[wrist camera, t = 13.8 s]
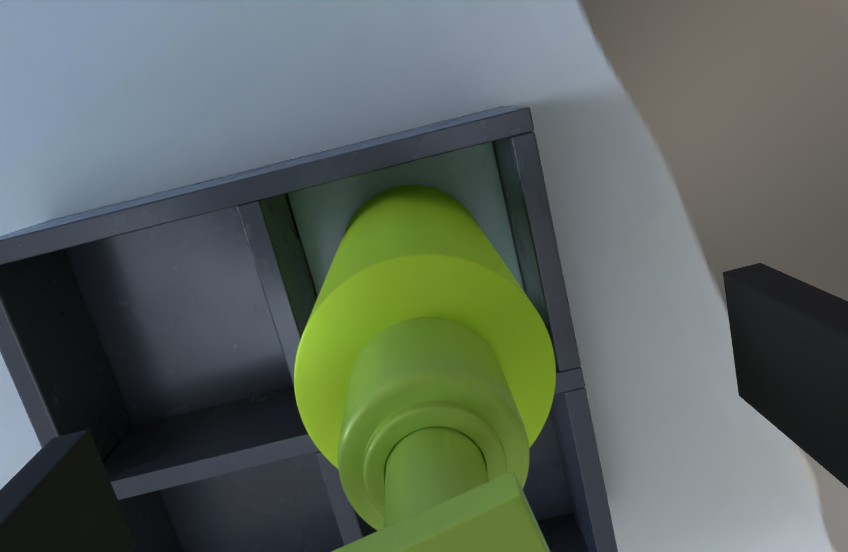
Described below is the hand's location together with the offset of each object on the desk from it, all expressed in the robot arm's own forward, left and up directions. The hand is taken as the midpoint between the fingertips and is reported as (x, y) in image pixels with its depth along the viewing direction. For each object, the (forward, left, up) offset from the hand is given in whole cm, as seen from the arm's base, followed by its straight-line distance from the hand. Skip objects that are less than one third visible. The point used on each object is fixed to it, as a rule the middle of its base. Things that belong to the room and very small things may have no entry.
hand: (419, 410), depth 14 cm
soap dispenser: (0, 0, -15) cm, 15 cm away
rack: (+5, -4, -16) cm, 17 cm away
